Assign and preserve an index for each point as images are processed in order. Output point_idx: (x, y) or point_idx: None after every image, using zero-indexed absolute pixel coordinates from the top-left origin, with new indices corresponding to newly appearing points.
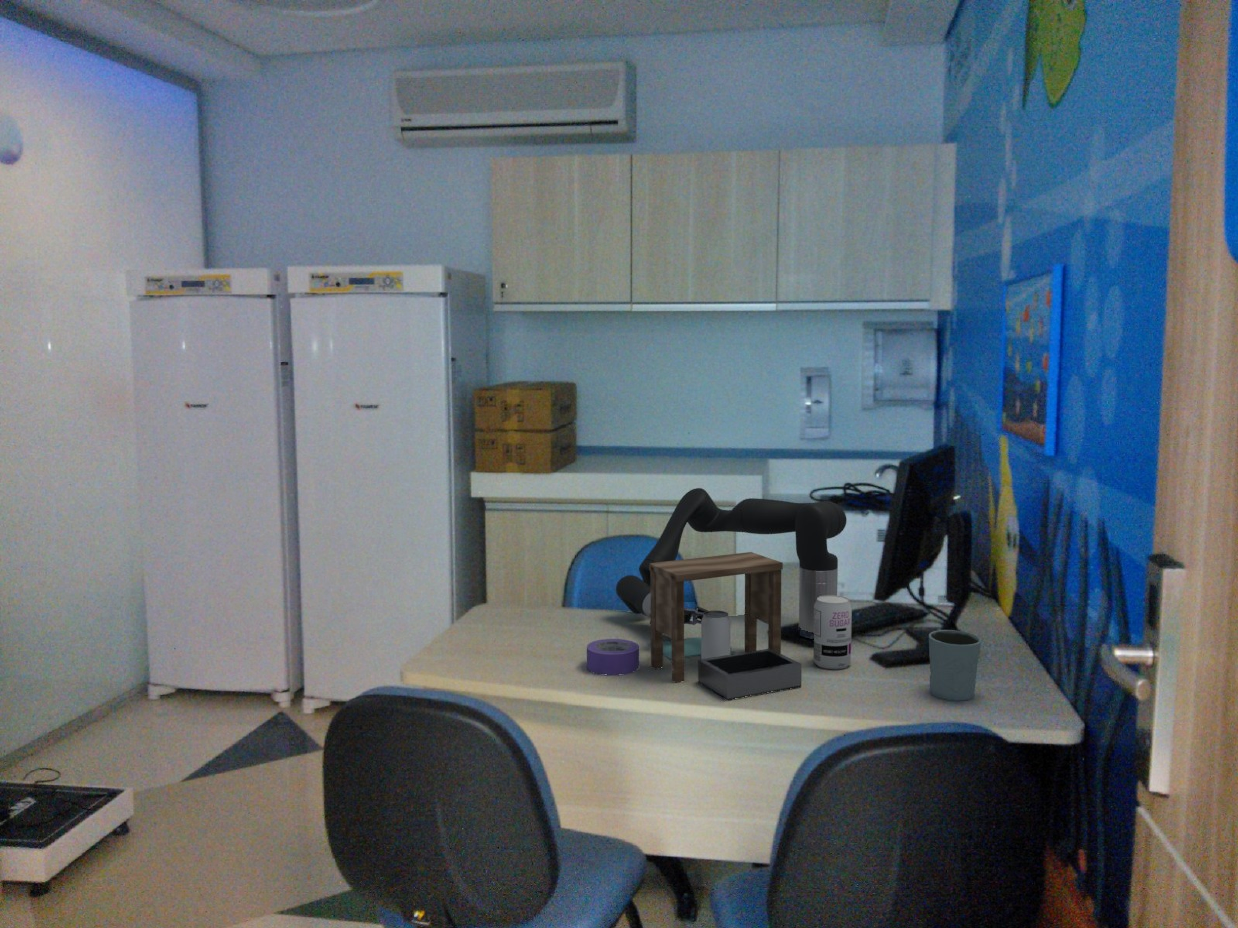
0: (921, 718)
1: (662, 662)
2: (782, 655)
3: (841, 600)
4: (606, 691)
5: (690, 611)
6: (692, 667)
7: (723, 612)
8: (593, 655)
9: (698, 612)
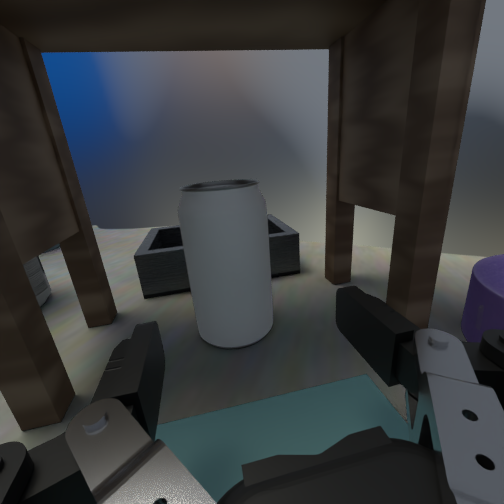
0: (125, 230)
1: None
2: (146, 240)
3: None
4: (466, 260)
5: (194, 486)
6: (299, 324)
7: (184, 191)
8: None
9: (101, 479)
